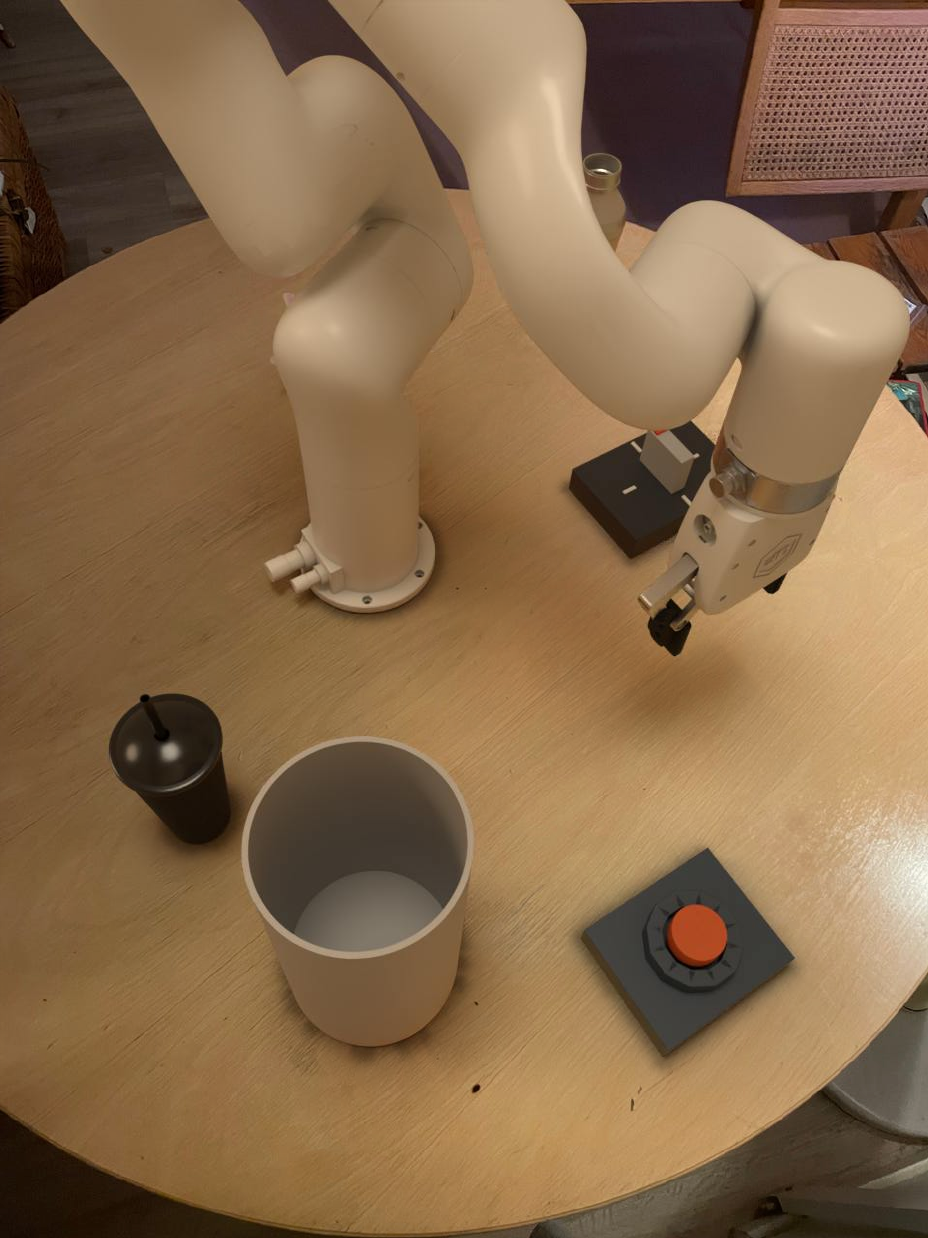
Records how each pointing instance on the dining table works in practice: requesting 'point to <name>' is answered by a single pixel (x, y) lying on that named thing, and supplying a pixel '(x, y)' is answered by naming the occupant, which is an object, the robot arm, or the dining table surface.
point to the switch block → (662, 984)
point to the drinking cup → (174, 763)
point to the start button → (696, 935)
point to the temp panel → (640, 491)
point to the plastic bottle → (606, 194)
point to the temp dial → (667, 459)
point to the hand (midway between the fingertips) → (712, 610)
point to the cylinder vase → (362, 884)
